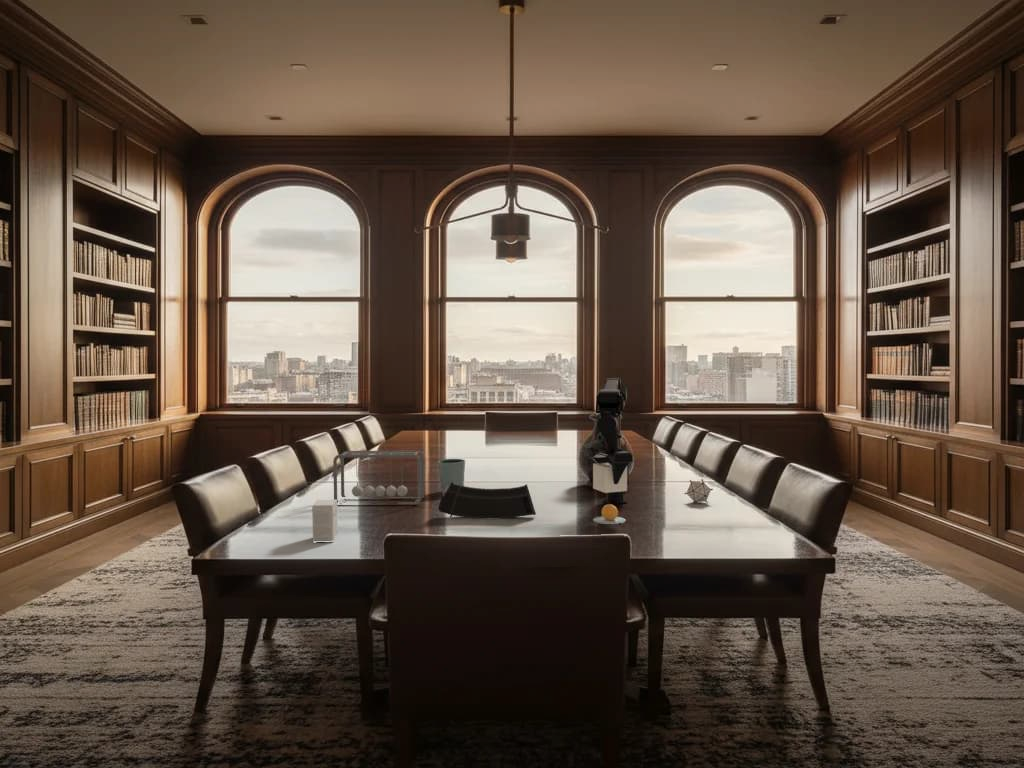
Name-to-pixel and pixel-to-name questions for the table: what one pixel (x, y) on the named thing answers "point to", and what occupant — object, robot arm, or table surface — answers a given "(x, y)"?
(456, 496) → the curved black tray
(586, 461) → the amphora vase
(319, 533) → the small box
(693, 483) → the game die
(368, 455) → the newton's cradle
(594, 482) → the block
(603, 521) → the disc
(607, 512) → the ball
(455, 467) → the green cup
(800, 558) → the table surface
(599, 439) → the robot arm
